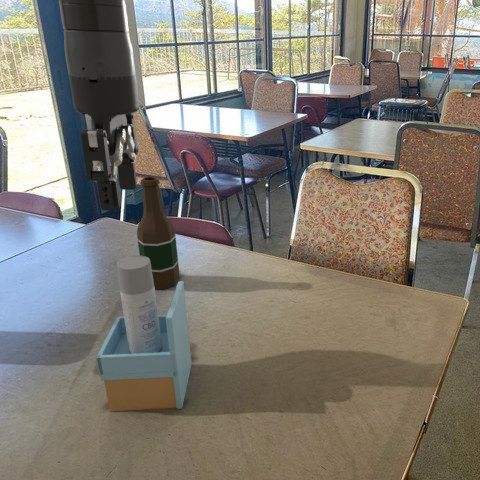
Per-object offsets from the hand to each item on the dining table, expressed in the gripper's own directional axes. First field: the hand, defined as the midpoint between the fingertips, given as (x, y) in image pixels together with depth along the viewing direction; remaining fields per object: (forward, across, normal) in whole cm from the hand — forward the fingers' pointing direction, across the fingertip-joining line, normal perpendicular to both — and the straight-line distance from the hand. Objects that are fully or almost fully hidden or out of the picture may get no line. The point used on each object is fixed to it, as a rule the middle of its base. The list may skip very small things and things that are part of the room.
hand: (120, 198), depth 65 cm
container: (+24, +1, +1) cm, 24 cm away
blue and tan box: (+31, +1, +1) cm, 31 cm away
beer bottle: (+31, -34, -4) cm, 46 cm away
